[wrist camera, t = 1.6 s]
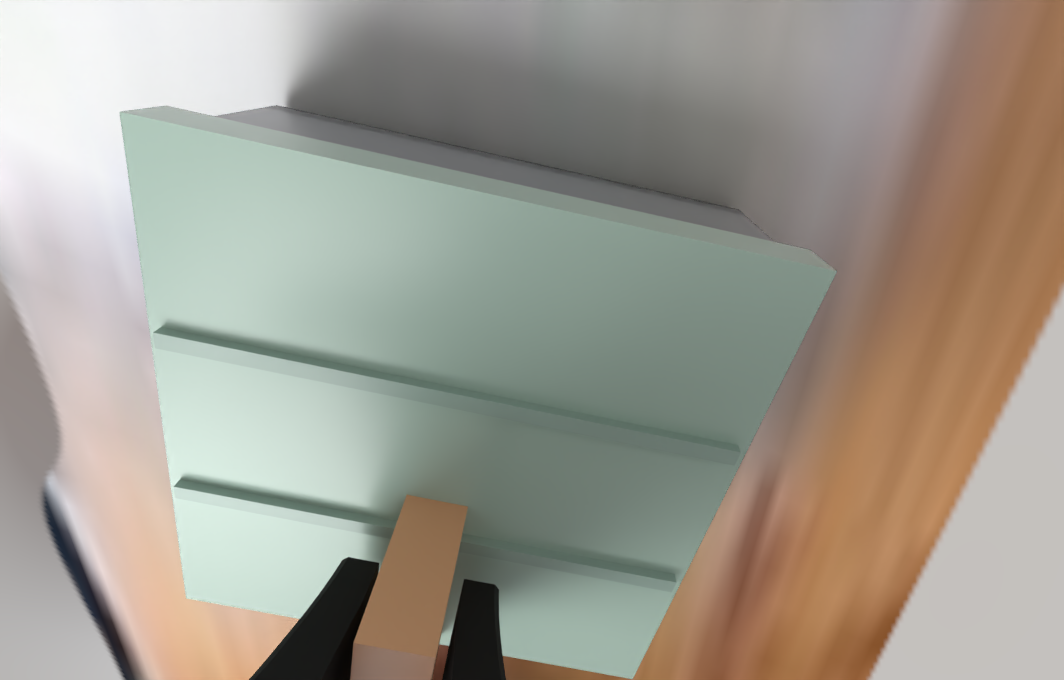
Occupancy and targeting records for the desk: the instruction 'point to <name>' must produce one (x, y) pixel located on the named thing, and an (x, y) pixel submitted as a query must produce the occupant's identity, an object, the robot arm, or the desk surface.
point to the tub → (498, 168)
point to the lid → (445, 387)
